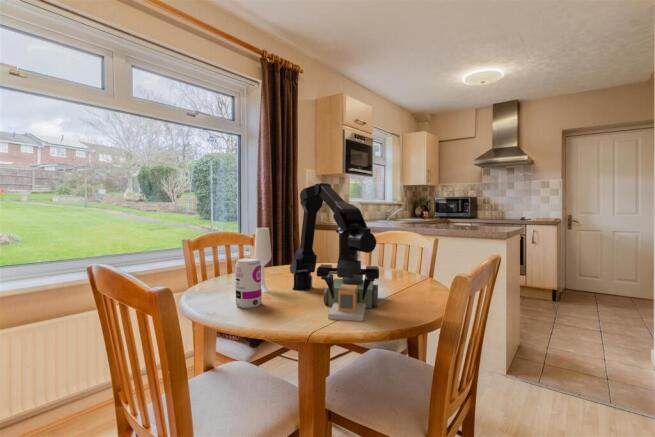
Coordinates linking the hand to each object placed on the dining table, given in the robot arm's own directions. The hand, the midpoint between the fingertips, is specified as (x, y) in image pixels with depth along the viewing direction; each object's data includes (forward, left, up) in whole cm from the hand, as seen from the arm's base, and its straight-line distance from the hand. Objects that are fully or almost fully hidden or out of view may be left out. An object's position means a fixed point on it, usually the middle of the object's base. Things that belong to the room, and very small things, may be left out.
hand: (348, 299), depth 102 cm
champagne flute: (-35, +19, -4) cm, 40 cm away
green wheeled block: (0, +6, -4) cm, 7 cm away
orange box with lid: (0, 0, -2) cm, 2 cm away
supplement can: (-33, +1, -4) cm, 33 cm away
